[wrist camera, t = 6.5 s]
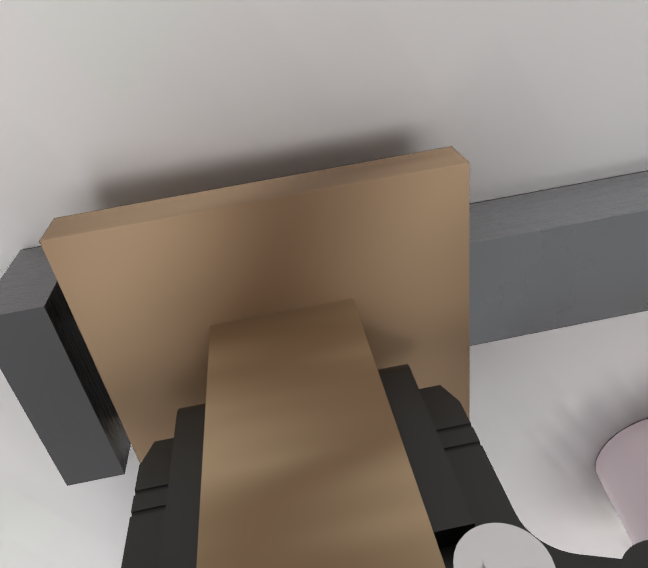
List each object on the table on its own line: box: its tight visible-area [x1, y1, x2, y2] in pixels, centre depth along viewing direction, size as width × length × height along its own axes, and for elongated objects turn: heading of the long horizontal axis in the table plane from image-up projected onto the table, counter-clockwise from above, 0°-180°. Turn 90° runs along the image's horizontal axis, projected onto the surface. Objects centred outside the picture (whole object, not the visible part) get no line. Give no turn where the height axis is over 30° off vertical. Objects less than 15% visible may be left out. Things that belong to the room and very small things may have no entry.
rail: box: [0, 171, 648, 486], centre depth 14 cm, size 22×5×3 cm, turn 98°
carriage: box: [40, 146, 469, 568], centre depth 10 cm, size 8×8×11 cm
